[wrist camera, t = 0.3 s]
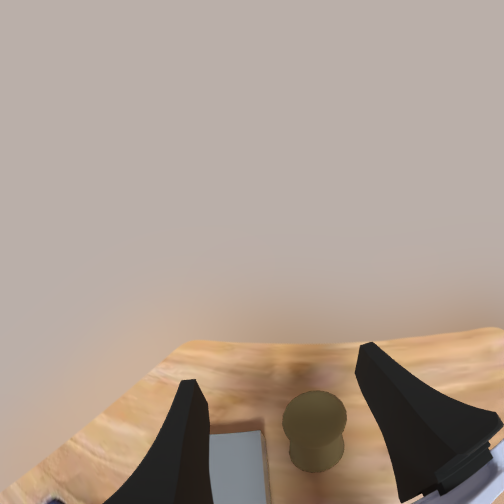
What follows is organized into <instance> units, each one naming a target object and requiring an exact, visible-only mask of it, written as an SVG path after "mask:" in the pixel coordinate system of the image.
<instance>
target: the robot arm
mask: <svg viewBox="0 0 504 504" xmlns="http://www.w3.org/2000/svg"><path fill="white" fill-rule="evenodd" d="M355 375H356V378H357V381H358V384H359V387H360V389H361V392H362V394H363V396H364V398H365V400H366V402H367V404H368V406H369V408H370V410H371V412H372V414H373V416H374V418H375V419H376V421H377V423H378V425H379V427H380V430H381V432H382V434H383V437H384V440H385V443H386V446H387V449H388V452H389V455H390V459H391V462H392V466H393V470H394V474H395V479H396V484H397V489H398V496H399V499H400V502H401V503H404V502H406V501H408V500H410V499H412V498H414V497H416V496H418V495H420V494H421V493H422V494H423V496H424V497H423V498H421V499H419V500H417V501H416V502H414V503H412V504H491V503H492V502H493V501H494V500H495V499H496V498H497V497H498V496H499V495H500V494H501V492H502V491H503V490H504V439H503V440H501V441H500V442H499V443H498V444H497V445H496V446H495V447H494V448H493V449H491V450H490V451H489V449H488V447H490V443H489V440H490V439H491V438H492V437H493V436H494V435H495V434H496V433H497V432H498V431H499V430H500V429H501V428H502V427H503V425H504V424H503V422H502V421H501V419H500V418H499V416H498V415H497V413H496V412H493V411H488V410H484V409H480V408H476V407H473V406H470V405H467V404H464V403H462V402H460V401H457V400H455V399H453V398H450V397H448V396H446V395H444V394H442V393H440V392H439V391H437V390H435V389H433V388H432V387H430V386H428V385H427V384H425V383H424V382H422V381H421V380H419V379H418V378H417V377H415V376H414V375H412V374H411V373H410V372H408V371H407V370H406V369H405V368H403V367H402V366H401V365H399V364H398V363H397V362H396V361H395V360H393V359H392V358H391V357H390V356H389V355H387V354H386V353H385V352H384V351H383V350H382V349H380V348H379V347H378V346H377V345H376V344H375V343H373V342H369V343H366V344H363V345H360V349H359V354H358V359H357V364H356V369H355ZM209 440H210V421H209V410H208V403H207V401H206V399H205V397H204V395H203V393H202V391H201V389H200V387H199V385H198V383H197V381H196V379H191V380H182V381H181V382H180V384H179V387H178V390H177V393H176V395H175V398H174V400H173V403H172V405H171V408H170V410H169V412H168V415H167V417H166V419H165V421H164V423H163V426H162V428H161V429H160V431H159V433H158V435H157V437H156V439H155V441H154V443H153V444H152V446H151V448H150V449H149V451H148V453H147V454H146V456H145V457H144V459H143V460H142V462H141V463H140V464H139V466H138V467H137V469H136V470H135V471H134V472H133V474H132V475H131V476H130V477H129V478H128V479H127V481H126V482H125V483H124V484H123V485H122V486H121V487H120V488H119V489H118V490H117V491H116V492H115V493H114V494H113V495H112V496H111V497H110V498H109V499H107V500H106V501H105V502H104V503H103V504H214V502H213V495H212V489H211V481H210V473H209Z"/></svg>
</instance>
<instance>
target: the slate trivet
mask: <svg viewBox="0 0 504 504" xmlns="http://www.w3.org/2000/svg"><path fill="white" fill-rule="evenodd" d="M209 473H210V481H211V489H212V495H213V502H214V504H271V496H270V485H269V475H268V464H267V453H266V443H265V438H264V436H263V434H262V433H261V431H260V430H258V431H250V432H240V433H229V434H213V435H210V440H209Z"/></svg>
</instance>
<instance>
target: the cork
mask: <svg viewBox="0 0 504 504" xmlns="http://www.w3.org/2000/svg"><path fill="white" fill-rule="evenodd" d="M346 421H347V415H346V410H345V408H344V405H343V403H342V402H341V401H340V400H339V399H338V398H337V397H336V396H335V395H333V394H331V393H329V392H324V391H309V392H306V393H303V394H300V395H299V396H297V397H296V398H294V399H293V400H292V401H291V402H290V403H289V404H288V406H287V407H286V410H285V412H284V414H283V421H282V425H283V429H284V432H285V434H286V436H287V437H288V438H289V440H290V451H289V454H290V458H291V461H292V462H293V463H294V464H295V466H296V467H298V468H300V469H301V470H303V471H307V472H311V473H313V472H322V471H325V470H328V469H330V468H331V467H333V466H334V465H336V464H337V463H338V461H339V460H340V459H341V457H342V455H343V452H344V441H343V437H342V432H343V431H344V428H345V425H346Z"/></svg>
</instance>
